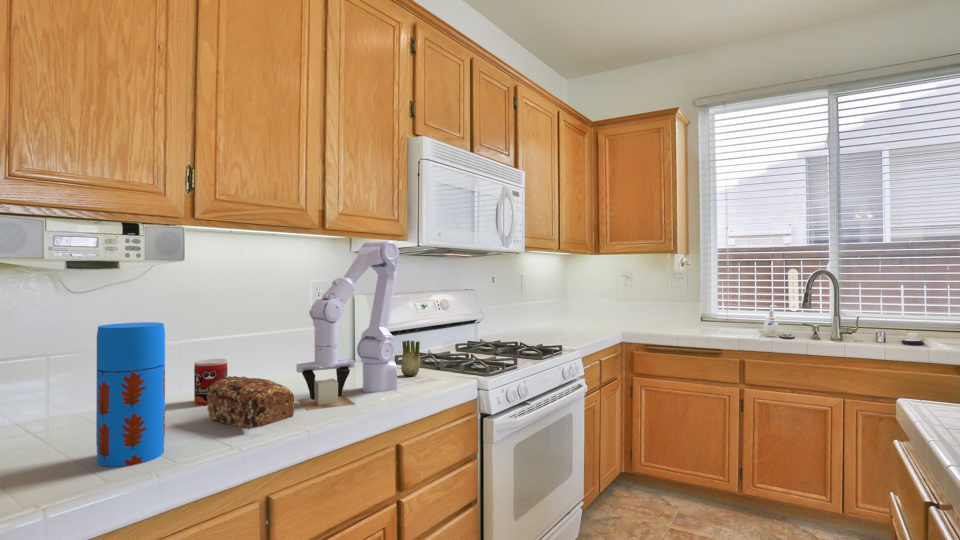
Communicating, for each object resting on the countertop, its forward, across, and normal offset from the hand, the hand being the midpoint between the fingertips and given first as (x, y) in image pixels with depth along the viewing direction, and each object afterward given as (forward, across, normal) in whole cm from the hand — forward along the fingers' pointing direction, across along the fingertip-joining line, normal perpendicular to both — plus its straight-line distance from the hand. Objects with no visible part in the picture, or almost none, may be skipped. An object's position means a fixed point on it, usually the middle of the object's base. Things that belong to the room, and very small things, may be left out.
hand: (326, 397), depth 137 cm
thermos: (+2, +41, +20) cm, 46 cm away
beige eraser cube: (+1, 0, 0) cm, 1 cm away
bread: (+3, +19, +5) cm, 19 cm away
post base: (+2, 0, 0) cm, 2 cm away
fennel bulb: (+2, -34, -26) cm, 43 cm away
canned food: (+2, +26, -20) cm, 33 cm away
